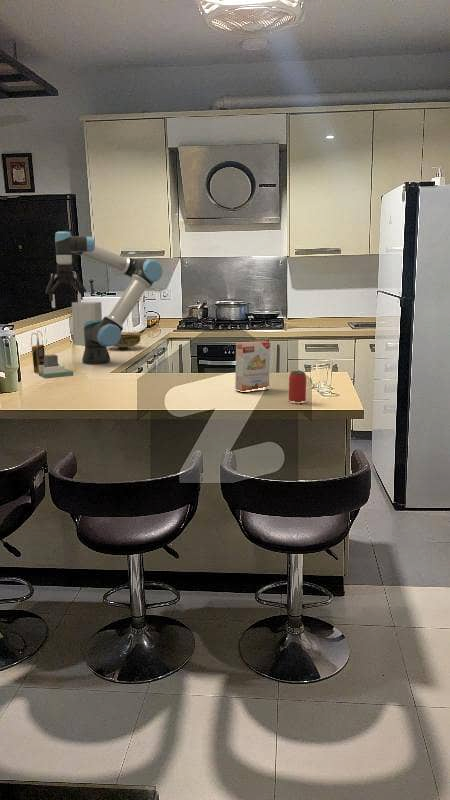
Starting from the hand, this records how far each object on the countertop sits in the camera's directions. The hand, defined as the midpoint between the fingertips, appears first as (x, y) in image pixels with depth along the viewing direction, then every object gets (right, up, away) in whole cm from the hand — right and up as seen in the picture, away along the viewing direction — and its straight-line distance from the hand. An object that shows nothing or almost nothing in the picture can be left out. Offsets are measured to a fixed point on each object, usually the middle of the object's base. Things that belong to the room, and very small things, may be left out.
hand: (66, 307), depth 310 cm
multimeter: (-11, -33, +1) cm, 34 cm away
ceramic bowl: (+15, -15, +81) cm, 84 cm away
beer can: (+108, -48, -70) cm, 137 cm away
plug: (-4, -33, -12) cm, 36 cm away
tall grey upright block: (-10, -10, +102) cm, 103 cm away
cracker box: (+91, -43, -47) cm, 112 cm away
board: (-2, -35, -11) cm, 36 cm away
